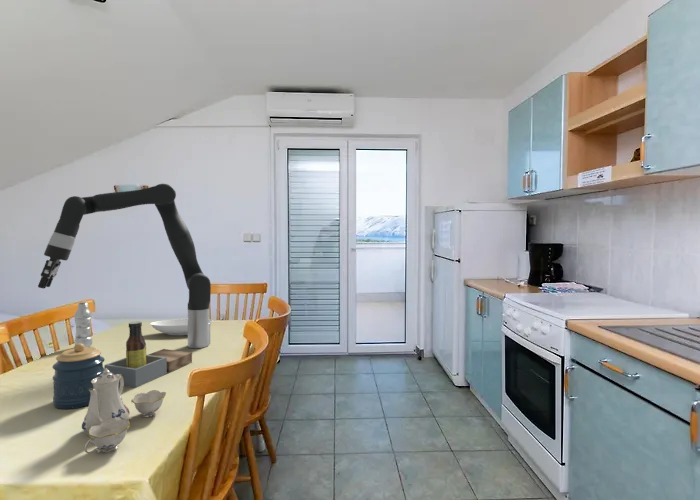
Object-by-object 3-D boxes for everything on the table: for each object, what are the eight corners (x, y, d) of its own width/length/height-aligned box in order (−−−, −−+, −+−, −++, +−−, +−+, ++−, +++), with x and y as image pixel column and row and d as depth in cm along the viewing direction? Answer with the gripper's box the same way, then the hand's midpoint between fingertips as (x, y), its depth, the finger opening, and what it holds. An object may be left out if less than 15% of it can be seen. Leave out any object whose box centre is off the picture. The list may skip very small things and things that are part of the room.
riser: (163, 358, 157) (163, 348, 157) (191, 362, 153) (191, 352, 152) (139, 368, 145) (139, 357, 145) (169, 372, 141) (169, 361, 141)
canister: (48, 413, 108) (47, 352, 107) (58, 396, 119) (57, 340, 119) (102, 404, 114) (102, 346, 113) (107, 389, 125) (106, 336, 125)
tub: (137, 369, 144) (137, 353, 144) (166, 373, 140) (166, 357, 140) (104, 382, 131) (104, 365, 131) (135, 387, 127) (135, 369, 127)
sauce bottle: (150, 376, 137) (150, 321, 136) (134, 382, 131) (134, 325, 131) (138, 373, 140) (138, 319, 139) (122, 379, 134) (121, 323, 133)
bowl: (214, 328, 207) (214, 317, 207) (211, 335, 193) (211, 324, 193) (153, 331, 200) (153, 320, 199) (146, 339, 185) (146, 326, 185)
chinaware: (121, 467, 87) (128, 395, 86) (43, 462, 85) (50, 389, 85) (169, 410, 114) (175, 356, 114) (111, 406, 113) (117, 351, 113)
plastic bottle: (83, 350, 166) (83, 304, 165) (70, 349, 167) (70, 303, 166) (96, 346, 172) (95, 302, 171) (83, 345, 174) (83, 301, 173)
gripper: (68, 248, 141) (52, 291, 139) (74, 249, 154) (58, 288, 151) (44, 242, 138) (26, 285, 135) (52, 243, 150) (36, 283, 148)
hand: (43, 287), depth 143 cm, fingers open, 8 cm apart
